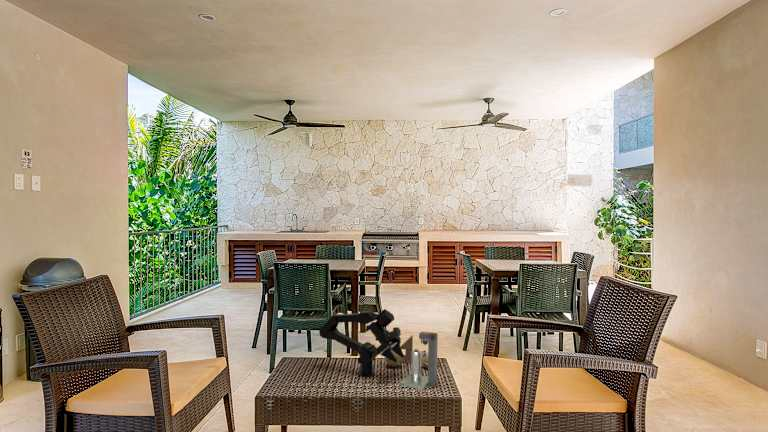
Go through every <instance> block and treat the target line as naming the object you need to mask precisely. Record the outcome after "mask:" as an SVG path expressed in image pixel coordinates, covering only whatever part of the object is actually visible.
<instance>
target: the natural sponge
mask: <svg viewBox="0 0 768 432" xmlns="http://www.w3.org/2000/svg"><path fill="white" fill-rule="evenodd" d="M391 351H392V350H391ZM392 353H393V354H394V356H395V358H396V360H397V362H394V361H392V360H390V359H388V358H386V357H384V359H385V361H386V363H387V364H389V365H390V366H391V367H393V368H394V367H395V368H396V367H397V366H399V365H400V364H401V363H402V362H401V360H402V357H400V356H399V355H398V354H396V353H395V352H394V351H392Z"/></svg>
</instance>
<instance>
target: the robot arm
mask: <svg viewBox="0 0 768 432" xmlns="http://www.w3.org/2000/svg"><path fill="white" fill-rule="evenodd" d="M393 321H395V316H394V314H393V313H392V312H391V311H389V310H387V309H386V308H384V309H382V310H381V312H380V313H376V312H374V311H373V310H366V311H361V312H358V313H344V314H343V313H342V314H339V313H337V314H333V315H331V316H330V318H329V319H328V320H327V321H326V322H325V323H324V324H323V325H322V326H321V327H320V328H319V329H318V330H319V332H318V333H319V336H320V337H321V338H322V339H326V340H332V341H335V342H337V343H339V344H341V345H343V346H345V347H347V348H348V349H350V350H353V352H355V353H357V354H358V355H359V357H357V363H358V364H360V371H359V372H357V374H358V375H360V376H361V377H362V378H367V377H371V376H376V373H375V372H374V371H373V369H374V367H373V361H375V360H376V357H377V356H379V355H380V356H382V357H384V358H385V357H386V358H388V359H390V360H392V361H394V362H397V360H396V358H395V356H394V354H393V353H392V351H394V352H395V353H396V354H398V355H399V356H400V357H402V358H403V357H404V355H405V354H404V352H403V349H401V347H400V346H401V342H402V338H401V337H399V336H402V334H401V332H402V330H401V328H400V329H398V328H399V327H398V326H396V328H394V327H393V328H394V329H393V328H392V331H391V330H390V331H389V330H387V329H385V328H386V327H388V326H389V325H390V324H391V323H393ZM339 323H357V324H362V325H365V332H366V333H367V332H369V331H370V332H371V333H372V335H373V336H374V337H375V339H374V340H375V341H376V342H377V341H378V342H379V346H377V347H376V346H375V344H373V343H371V342H369V341H366V342H365V343H362V342H360V341H358V340H356V339H354V338H352V337H350V336H348V335H346V334H344V333H342V332H340V331H339V328H338V325H339ZM397 327H398V328H397ZM391 350H392V351H391Z"/></svg>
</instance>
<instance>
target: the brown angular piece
mask: <svg viewBox="0 0 768 432" xmlns="http://www.w3.org/2000/svg"><path fill="white" fill-rule="evenodd" d="M396 327H397V328H398V329H400V330H401V328H400V327H398V326H396ZM396 327H392V330H393V329H394V328H396ZM400 336H401V335H400ZM400 336H399V337H400ZM413 337H414V336H413V334H412V335H410V337H408V339H406V340H405V341H404V343H402V344H400V347H401V350H405V354H403V355H404V357H403V358H402V360H401V362H400V363H404V364H405V363H406V364H411V351H414V349H413V347H414V346H413V345H414V343H413V340H414V339H413ZM400 338H401V337H400Z"/></svg>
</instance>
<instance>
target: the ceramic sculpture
mask: <svg viewBox="0 0 768 432" xmlns="http://www.w3.org/2000/svg"><path fill="white" fill-rule="evenodd" d="M442 363H443V362H442V361H438V360H437V366H438V365H440V364H442ZM421 367H422V368H426V369H428V352H427V351H426V350H422V351H421Z"/></svg>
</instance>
